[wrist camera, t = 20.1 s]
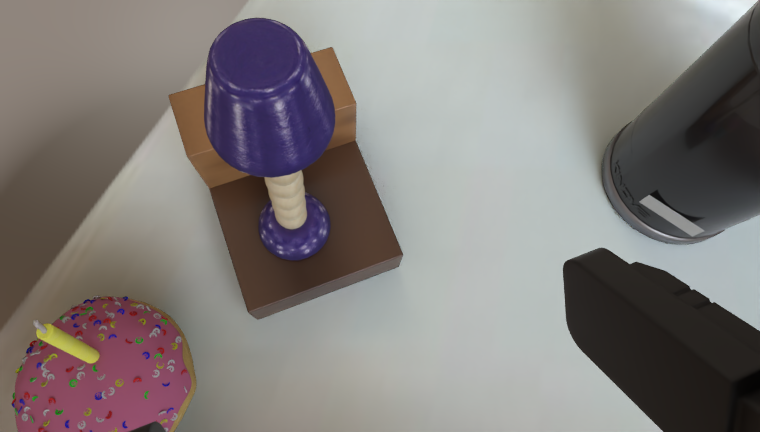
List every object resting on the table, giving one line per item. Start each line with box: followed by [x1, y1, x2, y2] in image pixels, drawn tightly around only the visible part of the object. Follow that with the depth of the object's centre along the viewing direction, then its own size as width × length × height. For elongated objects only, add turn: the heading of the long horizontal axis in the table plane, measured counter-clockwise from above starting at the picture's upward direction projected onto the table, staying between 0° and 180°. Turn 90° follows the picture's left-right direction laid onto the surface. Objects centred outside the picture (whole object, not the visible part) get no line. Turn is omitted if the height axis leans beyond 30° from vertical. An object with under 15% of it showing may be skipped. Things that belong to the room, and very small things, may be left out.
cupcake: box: [12, 296, 196, 432], centre depth 25 cm, size 9×8×12 cm
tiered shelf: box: [169, 47, 403, 319], centre depth 31 cm, size 10×12×8 cm
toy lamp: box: [204, 18, 335, 260], centre depth 23 cm, size 5×5×17 cm
